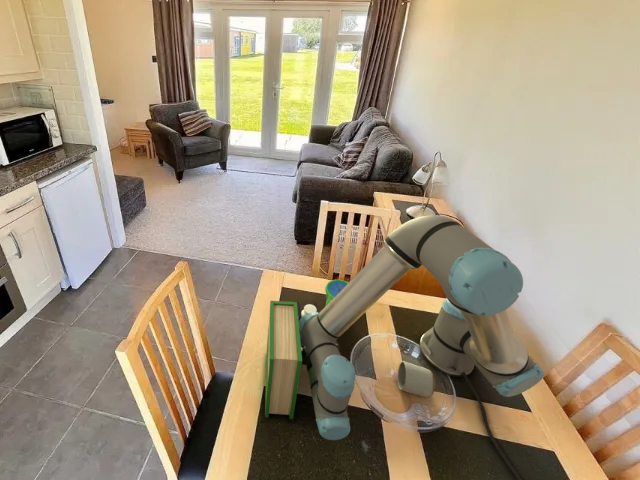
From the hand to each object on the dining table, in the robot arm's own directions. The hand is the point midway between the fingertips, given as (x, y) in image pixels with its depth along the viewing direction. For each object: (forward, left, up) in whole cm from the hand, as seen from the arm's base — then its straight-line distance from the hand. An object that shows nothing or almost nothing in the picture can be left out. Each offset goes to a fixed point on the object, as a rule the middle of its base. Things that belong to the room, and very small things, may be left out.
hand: (306, 304), depth 107 cm
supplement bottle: (-5, +3, -6) cm, 8 cm away
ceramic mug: (-33, -14, -9) cm, 37 cm away
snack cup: (-2, -14, -9) cm, 17 cm away
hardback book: (-14, +20, -9) cm, 26 cm away
